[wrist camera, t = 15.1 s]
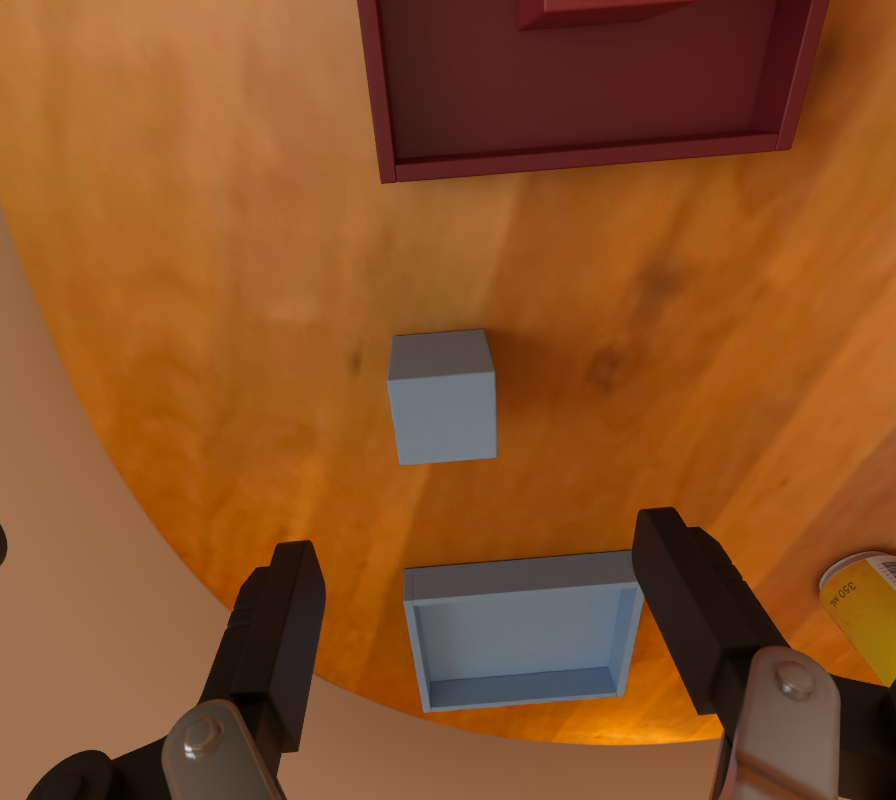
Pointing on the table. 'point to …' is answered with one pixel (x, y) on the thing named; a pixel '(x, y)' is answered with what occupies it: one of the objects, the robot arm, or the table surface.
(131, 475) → the table surface
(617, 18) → the burgundy block
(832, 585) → the beer can
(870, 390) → the table surface
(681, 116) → the burgundy tray
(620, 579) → the blue tray
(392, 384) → the blue block
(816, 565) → the table surface
